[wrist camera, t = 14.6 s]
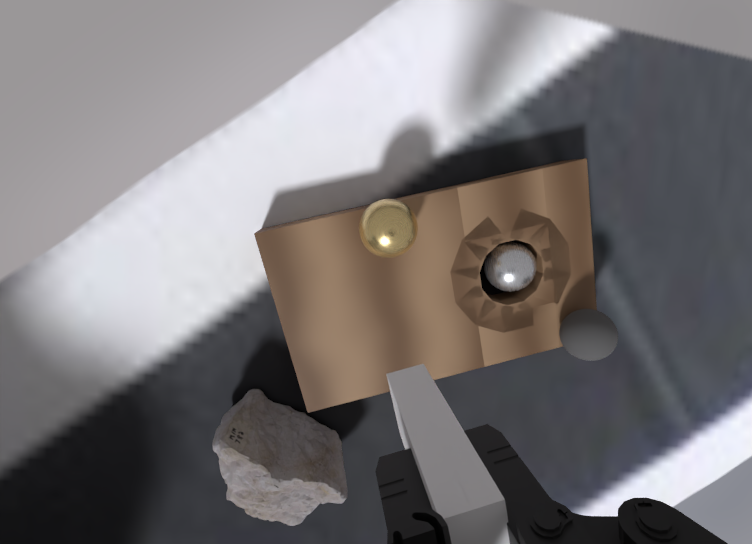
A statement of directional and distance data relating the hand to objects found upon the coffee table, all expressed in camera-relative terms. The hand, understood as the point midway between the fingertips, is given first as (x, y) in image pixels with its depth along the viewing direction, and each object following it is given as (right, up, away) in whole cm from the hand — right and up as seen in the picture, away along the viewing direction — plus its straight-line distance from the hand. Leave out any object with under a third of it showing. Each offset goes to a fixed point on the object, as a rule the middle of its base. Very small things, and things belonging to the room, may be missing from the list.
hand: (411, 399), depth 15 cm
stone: (-9, -8, +15) cm, 19 cm away
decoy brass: (-1, +8, +8) cm, 11 cm away
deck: (+3, +4, +13) cm, 14 cm away
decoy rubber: (+13, +1, +11) cm, 17 cm away
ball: (+8, +5, +12) cm, 15 cm away
